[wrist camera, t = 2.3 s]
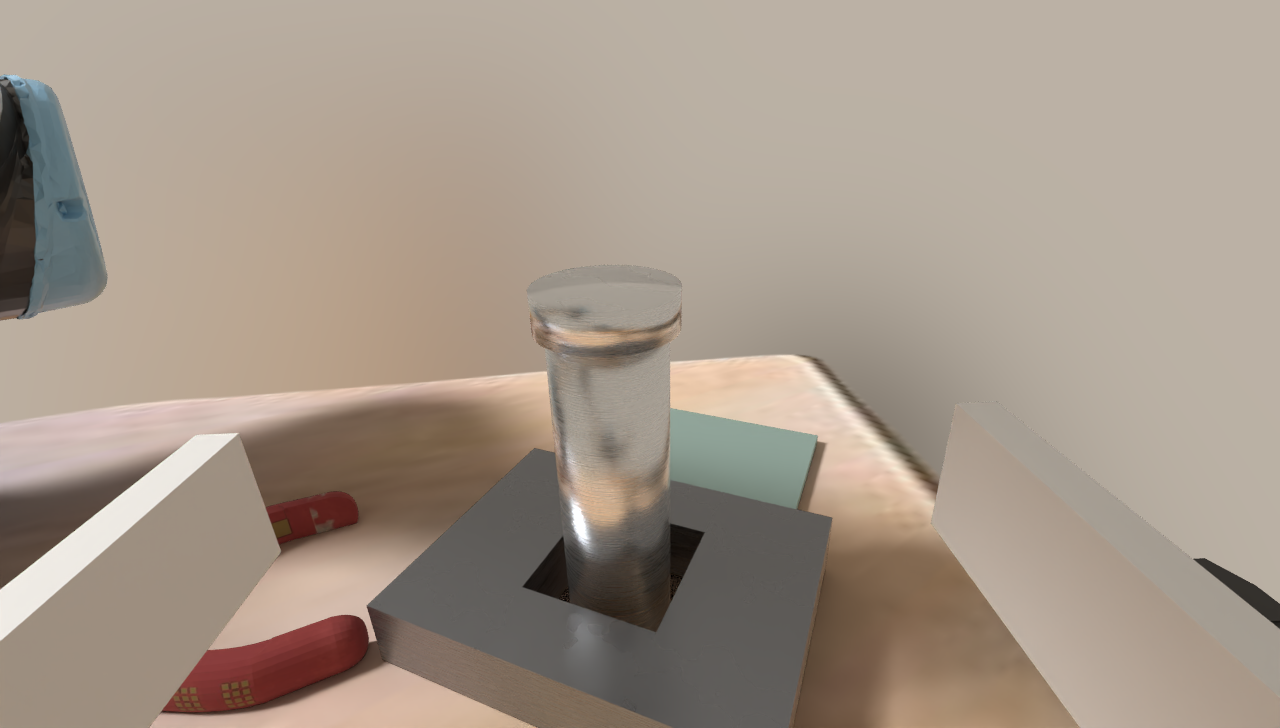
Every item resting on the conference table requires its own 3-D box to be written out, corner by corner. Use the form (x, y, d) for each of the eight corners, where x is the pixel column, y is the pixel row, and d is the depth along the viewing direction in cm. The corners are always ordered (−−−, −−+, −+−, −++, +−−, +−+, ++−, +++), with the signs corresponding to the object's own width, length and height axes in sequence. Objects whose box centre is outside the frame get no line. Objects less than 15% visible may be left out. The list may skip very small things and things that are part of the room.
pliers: (-135, 650, 26) (-170, 606, 25) (362, 514, 34) (352, 476, 33) (-397, 965, 17) (-473, 917, 15) (376, 676, 24) (361, 630, 23)
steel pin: (539, 637, 25) (495, 300, 19) (595, 556, 29) (574, 260, 23) (652, 679, 23) (645, 320, 17) (695, 585, 28) (702, 272, 21)
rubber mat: (578, 490, 34) (577, 481, 34) (645, 410, 43) (645, 403, 42) (787, 543, 30) (788, 534, 30) (816, 443, 38) (817, 435, 38)
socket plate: (382, 659, 24) (366, 605, 23) (539, 492, 34) (534, 448, 33) (772, 830, 18) (779, 770, 17) (825, 567, 28) (832, 517, 27)
